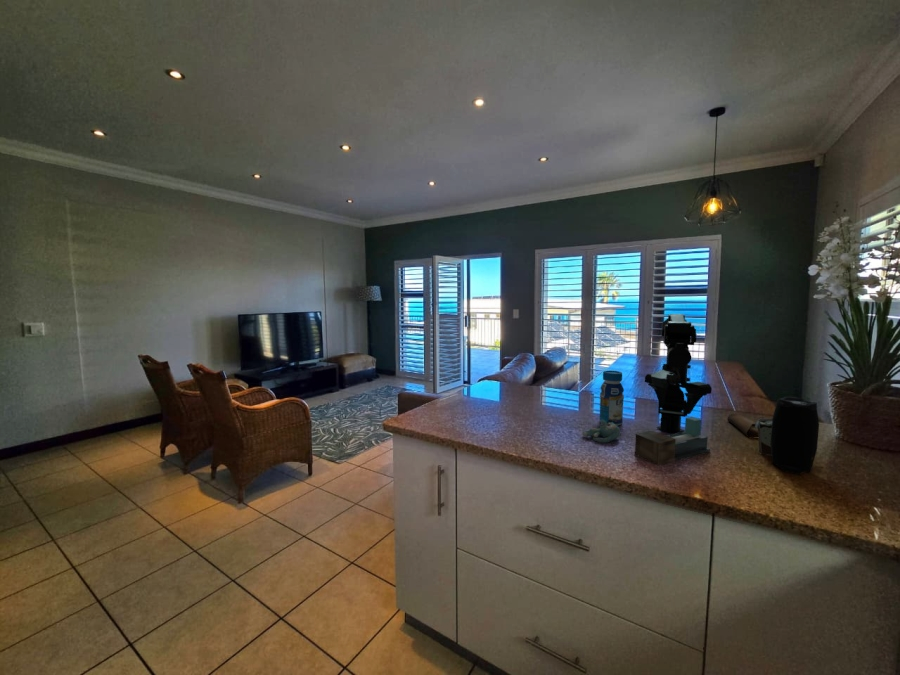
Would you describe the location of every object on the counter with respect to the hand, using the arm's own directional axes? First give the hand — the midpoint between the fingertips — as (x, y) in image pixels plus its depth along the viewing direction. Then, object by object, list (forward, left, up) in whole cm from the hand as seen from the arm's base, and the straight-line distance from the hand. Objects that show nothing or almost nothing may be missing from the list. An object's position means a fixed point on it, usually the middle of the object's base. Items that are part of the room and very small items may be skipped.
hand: (674, 409), depth 114 cm
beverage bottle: (-1, -26, -13) cm, 29 cm away
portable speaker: (-16, +23, -13) cm, 31 cm away
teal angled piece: (+1, +3, -11) cm, 11 cm away
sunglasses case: (-40, +1, -13) cm, 42 cm away
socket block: (+13, +3, -12) cm, 18 cm away
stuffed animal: (+15, -15, -13) cm, 25 cm away
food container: (-25, +15, -13) cm, 32 cm away
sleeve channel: (+1, +3, -12) cm, 13 cm away
